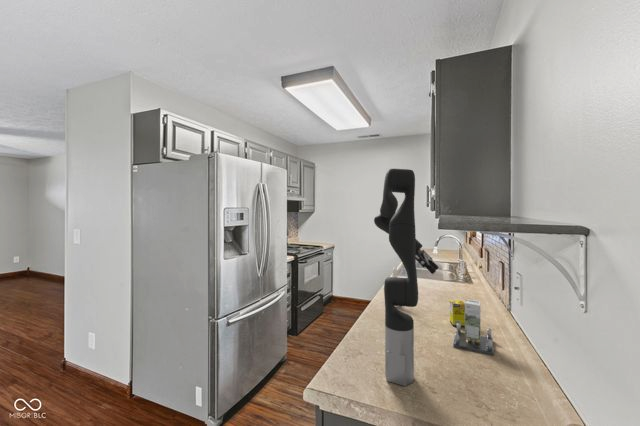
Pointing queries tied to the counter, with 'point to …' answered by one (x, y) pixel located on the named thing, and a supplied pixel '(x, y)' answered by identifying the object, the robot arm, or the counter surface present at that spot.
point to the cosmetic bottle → (394, 275)
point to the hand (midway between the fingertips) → (435, 270)
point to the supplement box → (457, 312)
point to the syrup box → (472, 319)
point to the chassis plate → (474, 342)
